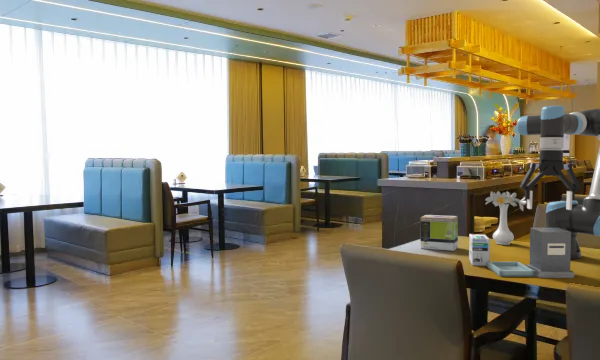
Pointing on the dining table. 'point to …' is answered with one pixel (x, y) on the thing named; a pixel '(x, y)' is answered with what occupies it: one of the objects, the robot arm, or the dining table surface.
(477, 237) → the light bulb box
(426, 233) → the tea box
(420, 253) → the dining table surface
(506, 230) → the flower vase
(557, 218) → the robot arm
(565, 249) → the control unit
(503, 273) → the tray
